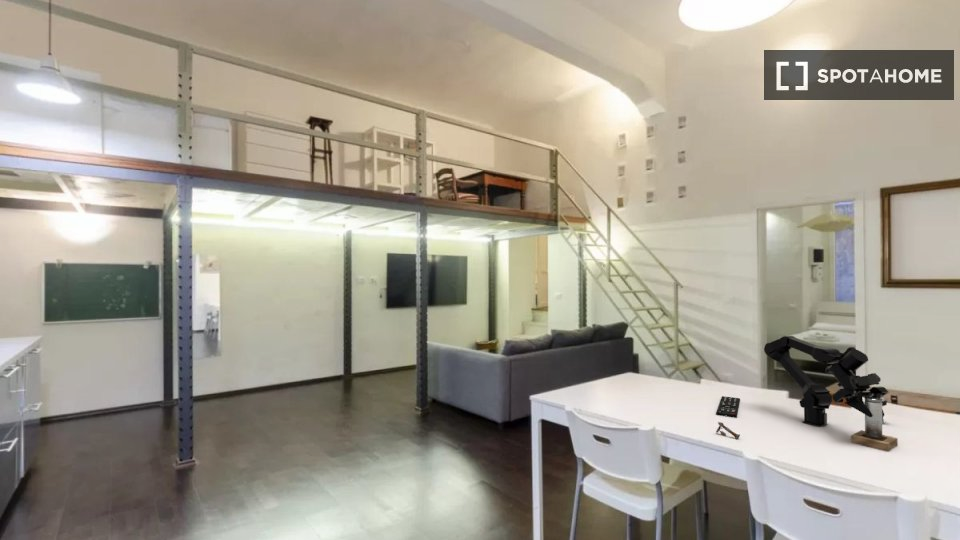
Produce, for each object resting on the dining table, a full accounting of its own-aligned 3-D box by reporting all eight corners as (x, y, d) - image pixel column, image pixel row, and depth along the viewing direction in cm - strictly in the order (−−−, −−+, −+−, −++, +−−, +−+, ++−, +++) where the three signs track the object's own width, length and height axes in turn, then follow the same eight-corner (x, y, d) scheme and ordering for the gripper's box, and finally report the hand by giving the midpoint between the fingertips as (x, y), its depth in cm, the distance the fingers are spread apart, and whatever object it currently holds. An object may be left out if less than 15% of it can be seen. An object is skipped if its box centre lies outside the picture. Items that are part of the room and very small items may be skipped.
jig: (851, 442, 159) (851, 435, 159) (861, 437, 164) (861, 430, 164) (888, 451, 150) (887, 444, 150) (897, 445, 156) (897, 438, 156)
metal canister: (861, 433, 160) (860, 396, 160) (874, 432, 160) (873, 396, 160) (873, 437, 155) (872, 400, 155) (886, 437, 155) (886, 400, 155)
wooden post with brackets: (715, 429, 170) (720, 420, 169) (735, 444, 164) (740, 434, 163) (712, 430, 169) (717, 420, 168) (733, 445, 163) (738, 435, 162)
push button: (887, 426, 176) (886, 400, 176) (869, 423, 180) (868, 398, 180) (888, 422, 181) (887, 397, 181) (870, 419, 184) (870, 395, 185)
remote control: (716, 416, 191) (716, 411, 191) (721, 399, 218) (721, 395, 218) (736, 419, 187) (736, 414, 187) (740, 401, 214) (739, 397, 214)
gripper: (839, 366, 160) (872, 406, 149) (882, 364, 163) (917, 403, 152) (819, 383, 168) (849, 422, 157) (860, 381, 171) (892, 419, 160)
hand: (877, 416), depth 156 cm, fingers closed on metal canister, 5 cm apart
